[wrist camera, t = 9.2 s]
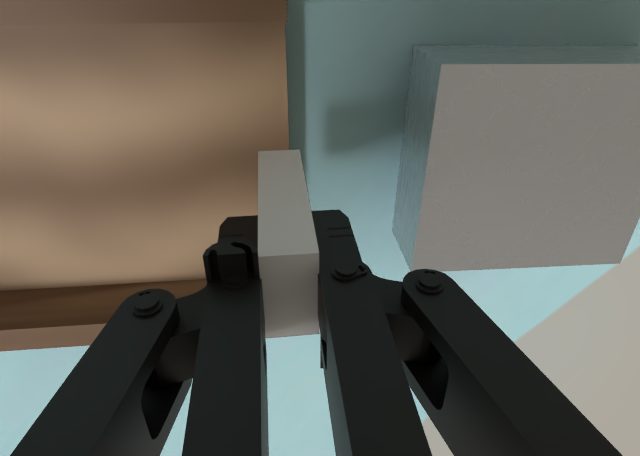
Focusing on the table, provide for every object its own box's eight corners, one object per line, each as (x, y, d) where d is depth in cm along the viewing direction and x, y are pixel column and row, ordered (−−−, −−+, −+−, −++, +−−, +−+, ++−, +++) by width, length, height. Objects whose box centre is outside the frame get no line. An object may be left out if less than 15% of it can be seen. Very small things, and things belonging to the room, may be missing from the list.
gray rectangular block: (411, 43, 20) (441, 64, 16) (632, 43, 21) (705, 63, 17) (390, 227, 24) (411, 272, 21) (572, 220, 25) (620, 263, 22)
